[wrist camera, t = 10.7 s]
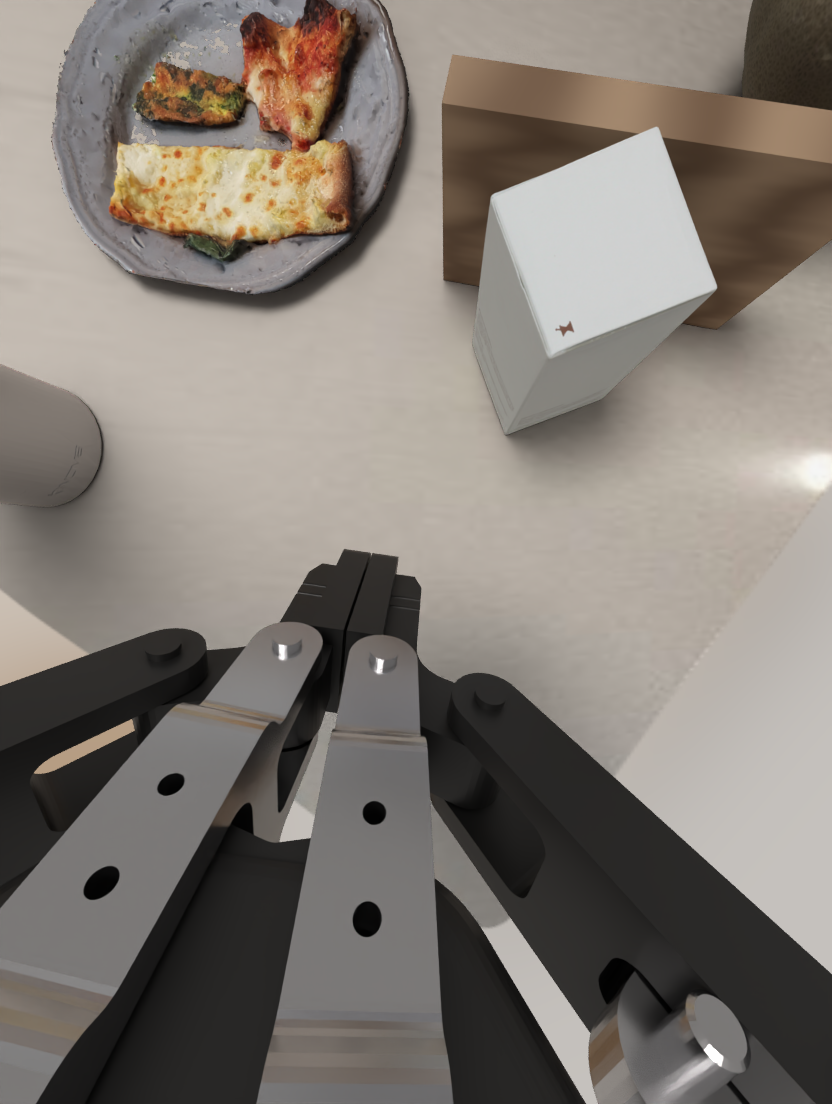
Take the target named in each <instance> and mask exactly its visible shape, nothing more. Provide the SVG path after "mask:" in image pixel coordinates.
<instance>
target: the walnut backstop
mask: <svg viewBox="0 0 832 1104" xmlns="http://www.w3.org/2000/svg"><path fill="white" fill-rule="evenodd" d="M654 127H658V128H659V130H660V133H661V136H662V139H663V141H664V144H665V147H666V149H667V152H668V155H669V158H670V160H671V163H672V166H673V169H674V172H675V174H676V177H677V180H678V182H679V185H680V188H681V191H682V193H683V196H684V199H685V201H686V204H687V207H688V210H689V212H690V215H691V218H692V220H693V223H694V226H695V229H696V232H697V234H698V237H699V240H700V242H701V245H702V248H703V250H704V253H705V255H706V258H707V261H708V264H709V266H710V269H711V271H712V274H713V277H714V279H715V282H716V285H717V289H716V291H715V292H714V293H713V294H712V295H711V296H710V297H709V298H708V299H707V300H706V301H705V302H703V303H702V304H701V305H700V306H699V307H698V308H697V309H696V310H695V311H694V312H693V313H692V314H691V315H690V316H689V317H688V318H687V319H685V320H684V321H683V322H682V323H683V324H689V325H694V326H700V327H705V328H711V329H716V330H717V329H718V328H719V327H720V326H722V325H723V324H724V323H725V322H727V321H728V320H729V319H731V318H732V317H733V316H734V315H736V314H737V313H738V312H740V311H741V310H742V309H743V308H745V307H746V306H747V305H749V304H750V303H751V302H752V301H754V300H755V299H756V298H757V297H759V296H760V295H761V294H763V293H764V292H765V291H766V290H768V289H769V288H770V287H772V286H773V285H774V284H775V283H777V282H778V281H779V280H780V279H782V278H783V277H784V276H786V275H787V274H788V273H789V272H791V271H792V270H793V269H795V268H796V267H797V266H798V265H800V264H801V263H802V262H804V261H805V260H806V259H807V258H809V257H810V256H811V255H812V254H814V253H815V252H816V251H818V250H819V249H820V248H821V247H823V246H824V245H825V244H827V243H828V242H829V241H830V240H832V110H825V109H818V108H811V107H805V106H798V105H791V104H784V103H777V102H771V101H764V100H757V99H750V98H743V97H737V96H730V95H723V94H716V93H710V92H703V91H696V90H689V89H682V88H676V87H669V86H662V85H655V84H648V83H642V82H635V81H628V80H621V79H614V78H608V77H601V76H594V75H587V74H581V73H574V72H567V71H560V70H553V69H547V68H540V67H533V66H526V65H519V64H513V63H506V62H499V61H492V60H485V59H479V58H472V57H465V56H458V55H452V59H451V63H450V68H449V73H448V77H447V82H446V86H445V91H444V96H443V100H442V167H443V276H444V280H448V281H453V282H459V283H464V284H470V285H475V286H479V285H480V277H481V268H482V260H483V252H484V243H485V236H486V228H487V221H488V213H489V206H490V199H491V196H492V195H493V194H494V193H497V192H500V191H503V190H505V189H508V188H510V187H512V186H515V185H517V184H520V183H522V182H525V181H527V180H530V179H532V178H535V177H538V176H540V175H543V174H545V173H548V172H550V171H553V170H556V169H558V168H560V167H563V166H565V165H567V164H569V163H572V162H574V161H576V160H579V159H581V158H583V157H586V156H588V155H590V154H593V153H595V152H597V151H600V150H602V149H604V148H607V147H609V146H611V145H614V144H616V143H618V142H621V141H623V140H625V139H628V138H630V137H632V136H635V135H637V134H640V133H642V132H644V131H647V130H649V129H652V128H654Z"/></svg>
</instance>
